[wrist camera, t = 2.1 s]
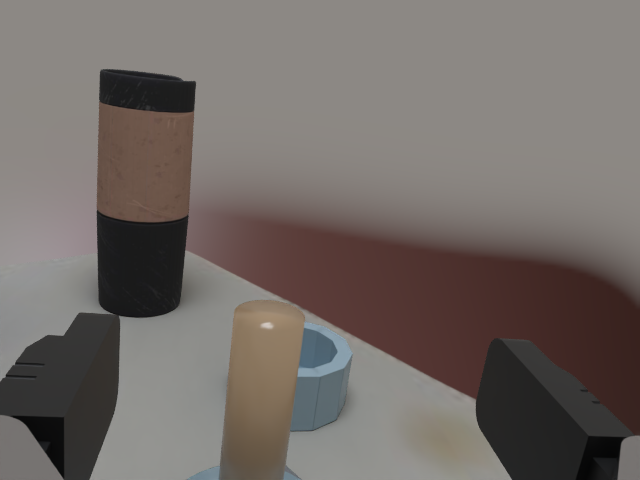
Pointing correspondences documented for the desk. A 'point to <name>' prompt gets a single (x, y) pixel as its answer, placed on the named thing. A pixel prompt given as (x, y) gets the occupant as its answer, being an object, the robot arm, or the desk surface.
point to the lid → (259, 392)
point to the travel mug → (143, 190)
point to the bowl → (320, 378)
